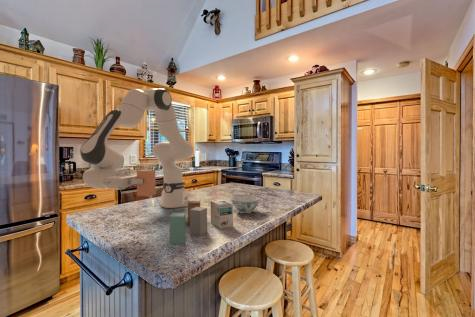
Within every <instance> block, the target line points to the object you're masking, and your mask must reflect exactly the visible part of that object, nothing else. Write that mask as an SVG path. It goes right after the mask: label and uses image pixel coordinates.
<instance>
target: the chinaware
mask: <svg viewBox="0 0 475 317" xmlns="http://www.w3.org/2000/svg"><path fill="white" fill-rule="evenodd" d="M231 201H232V202H231V203H233V208H235V209H236V210H237V211H239V214H242V213H250V214H252V213H251V212H252V211H254V210H255V209H256V208H257V207H258V205H259V203H260V202H259V201H260V197H259V196H255V195H254V196H253V195H237V196H233V197H232V198H231Z"/></svg>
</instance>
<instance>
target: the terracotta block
mask: <svg viewBox="0 0 475 317" xmlns="http://www.w3.org/2000/svg"><path fill="white" fill-rule="evenodd" d="M136 171H137V179H144V183H142V184H136V196H137V197H138V196H139V197H151V196H155V195H157V194H156V190H157V189H156V169H141V170H136Z"/></svg>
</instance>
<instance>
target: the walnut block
mask: <svg viewBox="0 0 475 317" xmlns="http://www.w3.org/2000/svg"><path fill="white" fill-rule="evenodd" d="M195 207H201V200H193V201H189V202H188V206H187V225H188V226H190V209H192V208H195Z"/></svg>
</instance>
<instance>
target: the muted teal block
mask: <svg viewBox="0 0 475 317" xmlns="http://www.w3.org/2000/svg"><path fill="white" fill-rule="evenodd" d="M186 232H187V230H186V212H171V214H170V215H169V245H174V244H175V245H176V244H184V243H185V242H186Z"/></svg>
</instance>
